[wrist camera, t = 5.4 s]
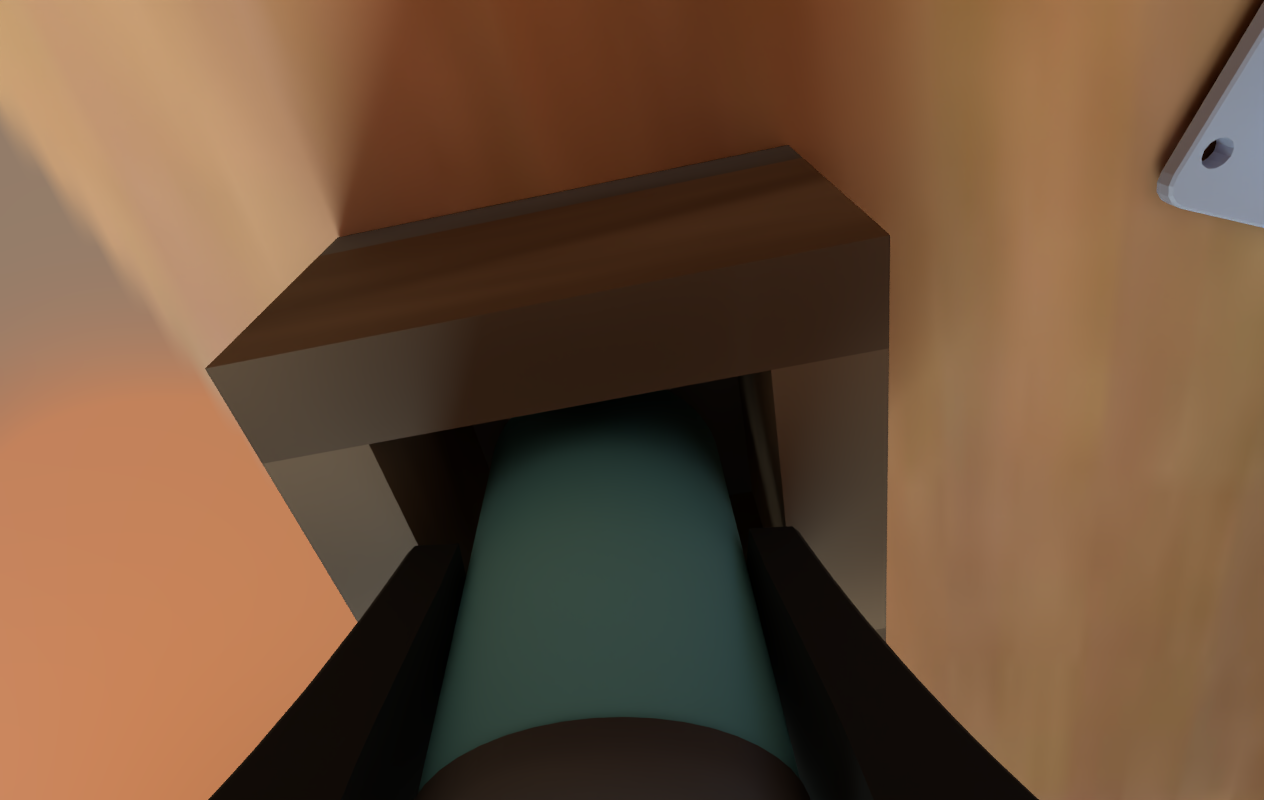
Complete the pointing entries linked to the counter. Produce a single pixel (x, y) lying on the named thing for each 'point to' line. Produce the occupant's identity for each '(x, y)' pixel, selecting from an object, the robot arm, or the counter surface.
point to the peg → (609, 623)
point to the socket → (582, 359)
